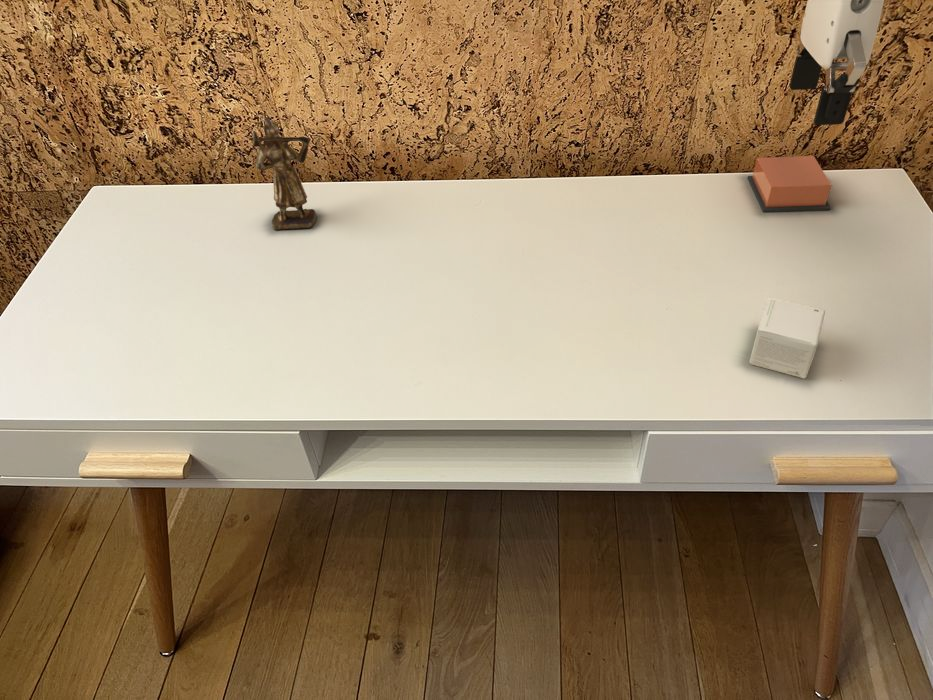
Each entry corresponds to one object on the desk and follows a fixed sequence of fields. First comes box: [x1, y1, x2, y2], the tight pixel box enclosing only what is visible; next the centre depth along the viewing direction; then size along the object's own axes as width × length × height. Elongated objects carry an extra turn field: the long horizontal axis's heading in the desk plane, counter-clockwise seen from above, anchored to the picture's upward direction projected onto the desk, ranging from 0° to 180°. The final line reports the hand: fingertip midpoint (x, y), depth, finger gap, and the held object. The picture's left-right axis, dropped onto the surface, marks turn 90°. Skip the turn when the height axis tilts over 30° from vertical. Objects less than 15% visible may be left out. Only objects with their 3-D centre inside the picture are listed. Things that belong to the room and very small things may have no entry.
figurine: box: [247, 116, 318, 231], centre depth 94 cm, size 7×4×15 cm, turn 89°
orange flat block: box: [751, 155, 832, 207], centre depth 96 cm, size 7×7×3 cm
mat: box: [747, 175, 832, 213], centre depth 97 cm, size 8×8×1 cm
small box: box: [749, 297, 826, 379], centre depth 74 cm, size 6×6×5 cm
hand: (814, 105), depth 88 cm, fingers open, 9 cm apart
